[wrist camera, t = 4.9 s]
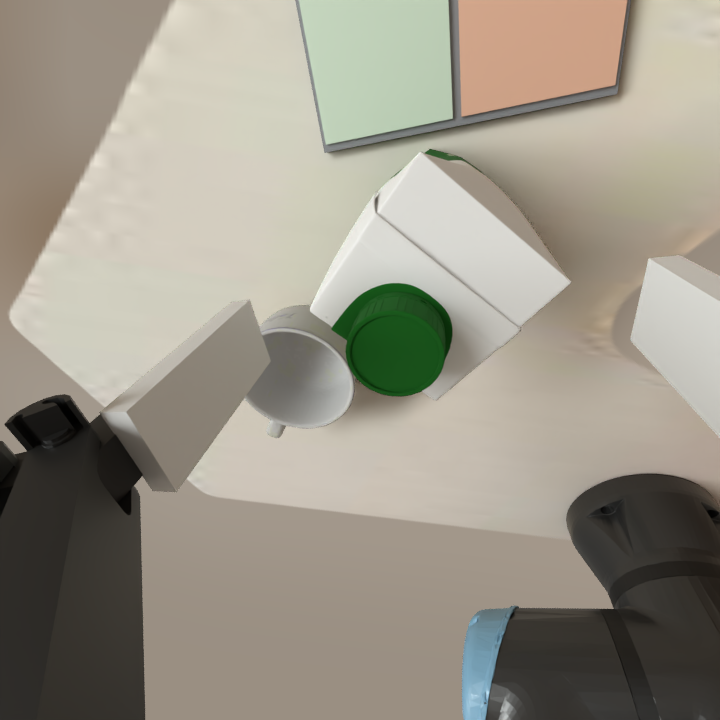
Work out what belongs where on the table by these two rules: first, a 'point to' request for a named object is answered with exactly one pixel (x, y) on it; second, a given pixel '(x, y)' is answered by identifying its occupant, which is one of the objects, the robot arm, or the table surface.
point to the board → (453, 61)
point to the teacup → (302, 372)
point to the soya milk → (434, 278)
